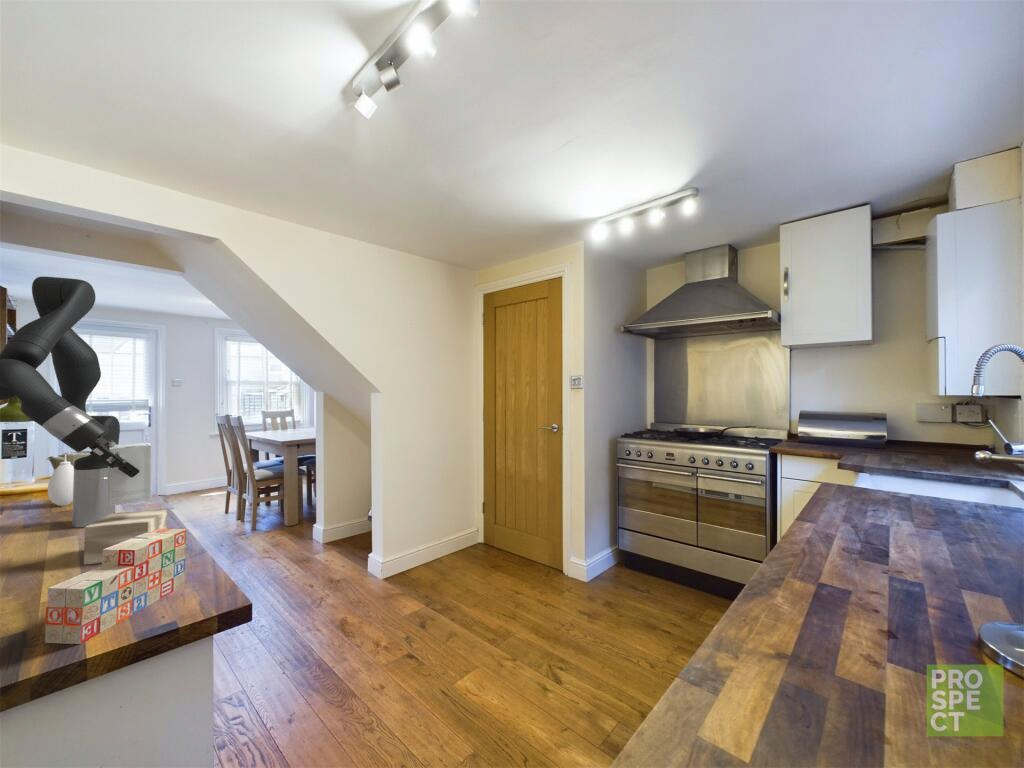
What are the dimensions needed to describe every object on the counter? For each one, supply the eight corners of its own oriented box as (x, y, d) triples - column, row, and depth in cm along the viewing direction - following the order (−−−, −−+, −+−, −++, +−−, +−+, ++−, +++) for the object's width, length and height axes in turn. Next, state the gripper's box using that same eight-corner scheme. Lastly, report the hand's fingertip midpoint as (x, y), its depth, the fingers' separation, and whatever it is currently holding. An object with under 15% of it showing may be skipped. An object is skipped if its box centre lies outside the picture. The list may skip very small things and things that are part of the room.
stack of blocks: (80, 645, 68) (83, 570, 68) (43, 644, 68) (46, 569, 69) (185, 585, 90) (187, 528, 90) (157, 584, 90) (159, 527, 90)
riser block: (110, 547, 110) (111, 513, 110) (166, 541, 114) (167, 509, 114) (83, 565, 99) (84, 527, 99) (146, 558, 103) (147, 522, 103)
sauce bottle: (55, 503, 148) (56, 453, 148) (84, 501, 151) (86, 452, 152) (41, 509, 141) (43, 456, 141) (72, 507, 144) (74, 455, 145)
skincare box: (148, 496, 112) (151, 441, 112) (151, 501, 108) (153, 443, 108) (105, 502, 106) (108, 444, 106) (106, 507, 102) (108, 446, 102)
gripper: (84, 419, 97) (148, 465, 104) (98, 416, 109) (155, 457, 115) (50, 443, 94) (118, 489, 100) (68, 437, 106) (129, 478, 112)
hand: (138, 472), depth 108 cm, fingers closed on skincare box, 6 cm apart
